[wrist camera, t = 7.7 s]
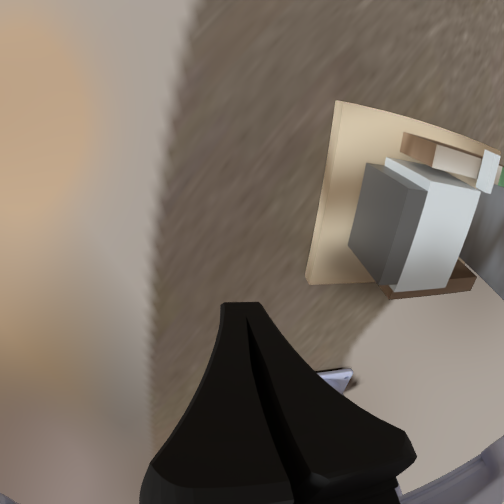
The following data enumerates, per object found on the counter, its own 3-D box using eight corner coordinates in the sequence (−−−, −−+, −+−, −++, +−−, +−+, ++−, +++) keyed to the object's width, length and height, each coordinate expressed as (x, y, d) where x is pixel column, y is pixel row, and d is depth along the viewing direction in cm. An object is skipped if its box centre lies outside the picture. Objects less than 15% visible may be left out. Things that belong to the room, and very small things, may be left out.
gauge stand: (452, 270, 22) (508, 330, 15) (304, 275, 20) (350, 372, 13) (492, 147, 17) (571, 188, 10) (335, 100, 14) (434, 123, 7)
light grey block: (421, 252, 19) (455, 286, 15) (345, 252, 18) (375, 293, 14) (454, 137, 15) (500, 156, 11) (374, 114, 14) (421, 127, 10)
